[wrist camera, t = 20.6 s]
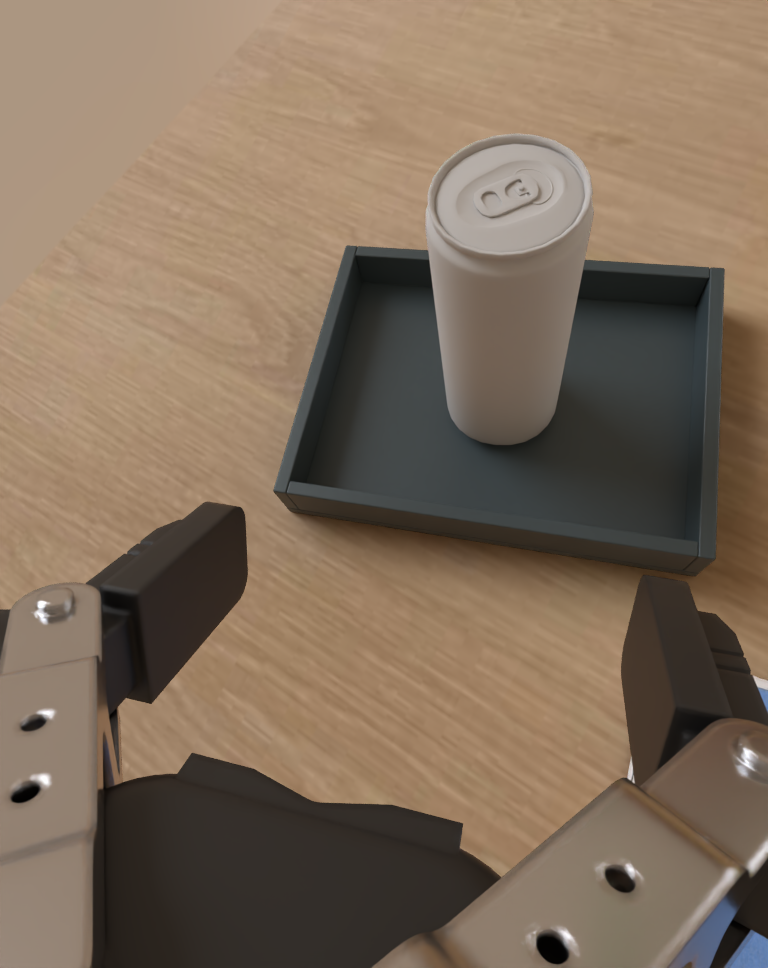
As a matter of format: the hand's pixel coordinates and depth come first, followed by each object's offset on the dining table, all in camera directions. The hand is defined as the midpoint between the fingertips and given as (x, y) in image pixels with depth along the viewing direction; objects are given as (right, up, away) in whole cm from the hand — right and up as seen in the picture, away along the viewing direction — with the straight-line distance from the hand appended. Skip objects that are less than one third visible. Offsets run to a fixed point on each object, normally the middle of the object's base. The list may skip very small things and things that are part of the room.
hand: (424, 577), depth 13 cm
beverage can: (+5, +5, +16) cm, 18 cm away
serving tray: (+5, +5, +16) cm, 18 cm away
